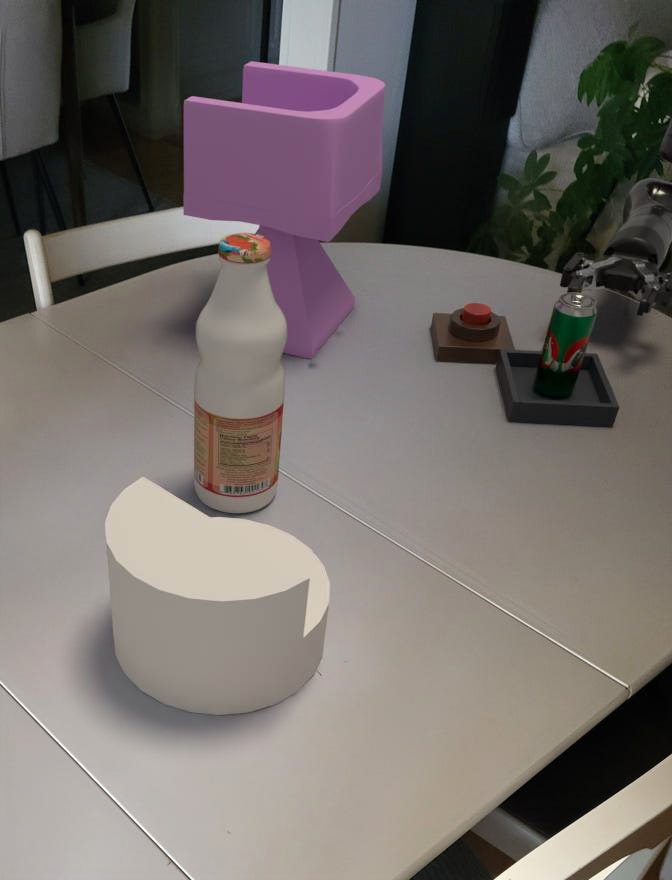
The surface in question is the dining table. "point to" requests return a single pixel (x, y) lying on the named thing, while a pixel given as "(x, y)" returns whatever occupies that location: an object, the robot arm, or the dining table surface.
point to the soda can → (565, 344)
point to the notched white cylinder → (211, 604)
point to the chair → (289, 179)
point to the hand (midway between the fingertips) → (606, 302)
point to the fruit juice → (239, 382)
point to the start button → (476, 314)
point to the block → (469, 338)
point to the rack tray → (581, 407)
